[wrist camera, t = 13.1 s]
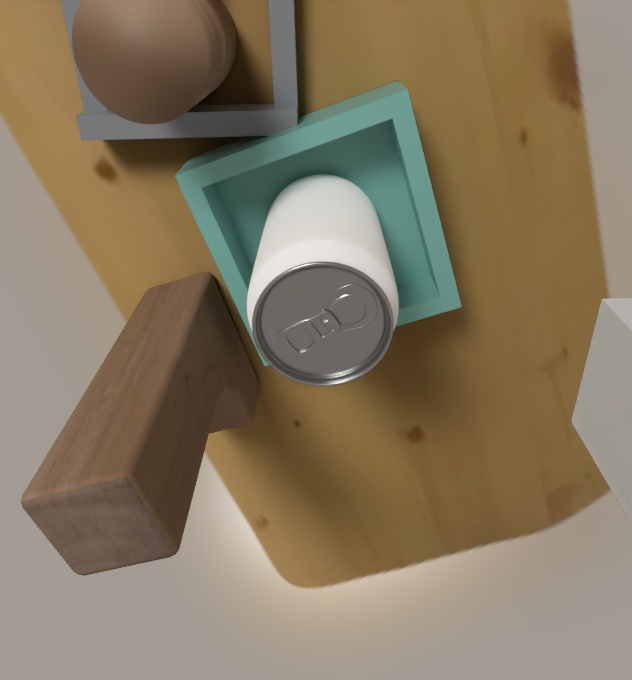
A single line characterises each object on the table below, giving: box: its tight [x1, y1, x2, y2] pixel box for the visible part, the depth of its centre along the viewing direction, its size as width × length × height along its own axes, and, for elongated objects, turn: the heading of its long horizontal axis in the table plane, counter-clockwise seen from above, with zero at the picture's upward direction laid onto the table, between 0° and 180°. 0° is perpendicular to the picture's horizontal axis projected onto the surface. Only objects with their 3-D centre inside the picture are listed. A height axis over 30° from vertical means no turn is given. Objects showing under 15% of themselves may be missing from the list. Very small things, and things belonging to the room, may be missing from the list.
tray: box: [175, 80, 462, 366], centre depth 32 cm, size 12×12×4 cm
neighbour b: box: [72, 0, 238, 124], centre depth 25 cm, size 5×5×9 cm
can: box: [247, 174, 399, 386], centre depth 28 cm, size 6×6×12 cm
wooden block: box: [21, 273, 259, 575], centre depth 30 cm, size 9×4×18 cm, turn 17°
